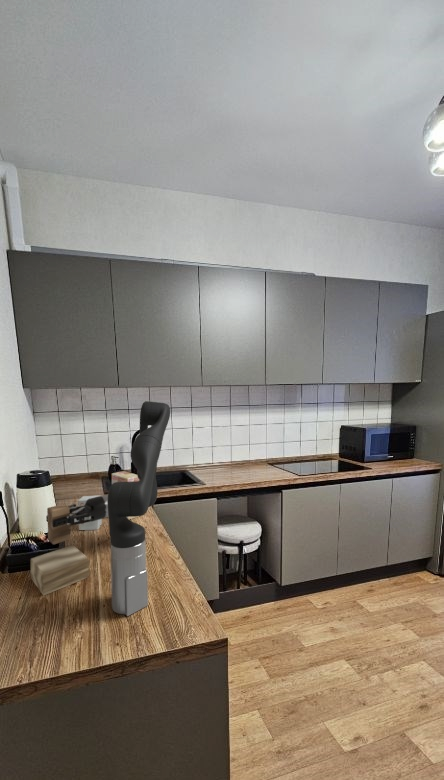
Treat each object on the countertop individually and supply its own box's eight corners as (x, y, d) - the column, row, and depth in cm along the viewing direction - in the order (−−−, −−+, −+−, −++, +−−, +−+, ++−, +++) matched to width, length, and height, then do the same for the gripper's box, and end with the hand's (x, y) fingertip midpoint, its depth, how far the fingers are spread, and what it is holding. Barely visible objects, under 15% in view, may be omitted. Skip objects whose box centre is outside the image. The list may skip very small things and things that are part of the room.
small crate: (70, 539, 103) (69, 507, 104) (53, 544, 100) (52, 511, 100) (64, 534, 107) (64, 503, 107) (47, 539, 104) (47, 507, 104)
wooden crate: (90, 577, 103) (89, 557, 103) (43, 596, 94) (43, 574, 94) (74, 562, 113) (73, 544, 113) (30, 578, 103) (30, 558, 103)
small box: (101, 524, 146) (101, 494, 146) (98, 530, 139) (97, 499, 140) (83, 525, 145) (82, 495, 145) (78, 531, 139) (77, 500, 139)
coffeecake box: (141, 516, 154) (140, 475, 154) (127, 521, 148) (126, 478, 149) (124, 509, 164) (124, 470, 164) (111, 513, 159) (110, 473, 159)
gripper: (93, 491, 119) (42, 504, 107) (111, 500, 108) (57, 515, 97) (94, 512, 119) (42, 527, 107) (112, 523, 108) (57, 540, 96)
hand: (49, 521), depth 102 cm, fingers closed on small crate, 5 cm apart
